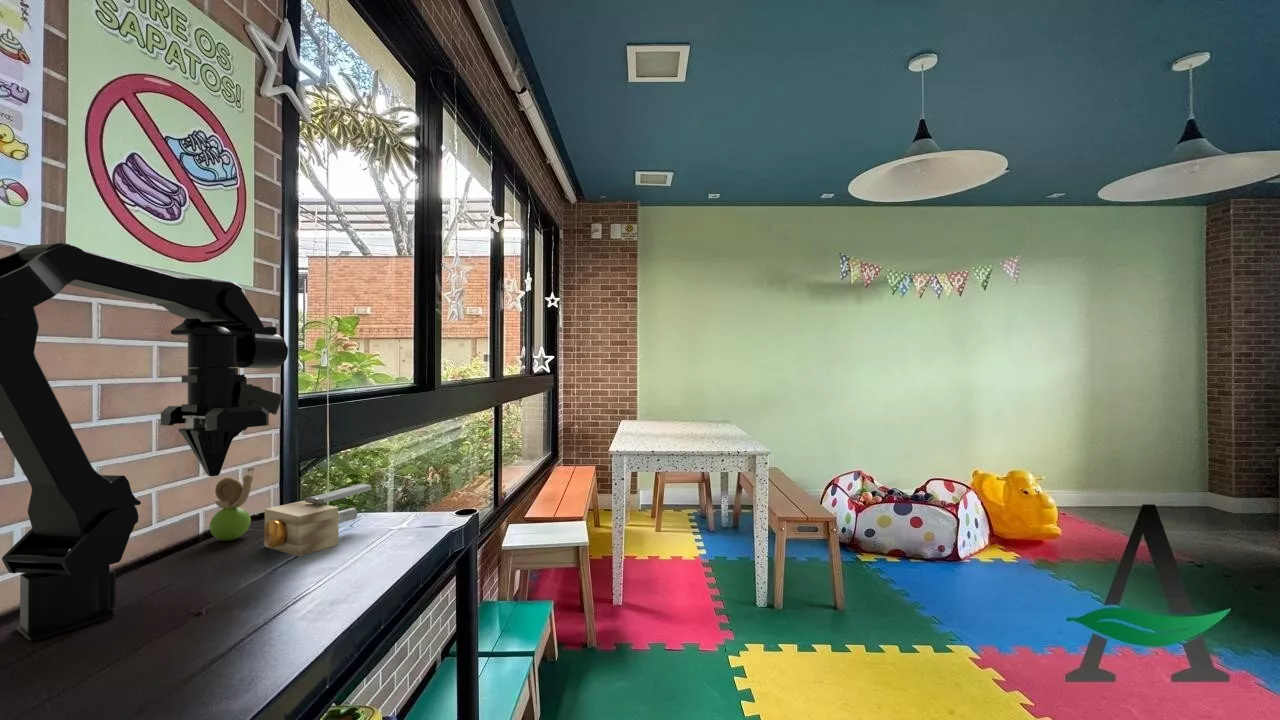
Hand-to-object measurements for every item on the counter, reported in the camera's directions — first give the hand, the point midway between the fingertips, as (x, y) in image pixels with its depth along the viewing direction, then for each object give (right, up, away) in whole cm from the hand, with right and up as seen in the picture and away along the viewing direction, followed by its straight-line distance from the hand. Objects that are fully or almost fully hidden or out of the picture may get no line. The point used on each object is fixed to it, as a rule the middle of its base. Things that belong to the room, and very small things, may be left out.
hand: (213, 475), depth 75 cm
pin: (+8, -12, +10) cm, 18 cm away
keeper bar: (+10, -7, +14) cm, 19 cm away
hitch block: (+7, -13, +8) cm, 17 cm away
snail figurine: (-6, -14, +12) cm, 19 cm away
